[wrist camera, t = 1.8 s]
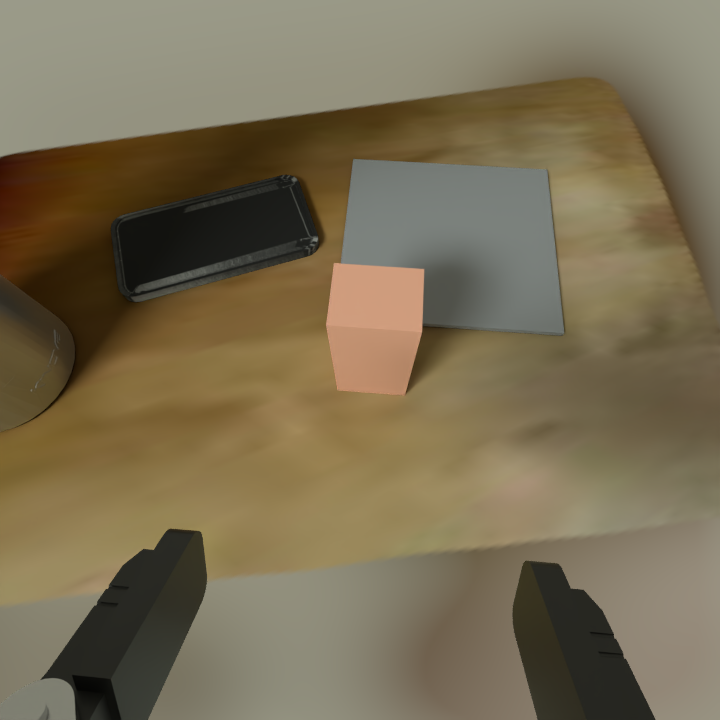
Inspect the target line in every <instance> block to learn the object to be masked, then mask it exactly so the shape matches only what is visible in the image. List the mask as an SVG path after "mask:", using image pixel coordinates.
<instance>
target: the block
mask: <svg viewBox="0 0 720 720" xmlns="http://www.w3.org/2000/svg"><path fill="white" fill-rule="evenodd" d="M423 290H424V269H416V268H401V267H385V266H370V265H354V264H339V263H334V268H333V276H332V284H331V292H330V300H329V308H328V316H327V324H326V327H327V332H328V338H329V344H330V349H331V355H332V361H333V366H334V372H335V378H336V384H337V389H338V390H341V391H354V392H368V393H381V394H394V395H405V393H406V389H407V386H408V382H409V378H410V375H411V371H412V367H413V364H414V360H415V356H416V353H417V349H418V345H419V342H420V338H421V334H422V320H423Z"/></svg>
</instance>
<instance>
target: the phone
mask: <svg viewBox="0 0 720 720" xmlns="http://www.w3.org/2000/svg"><path fill="white" fill-rule="evenodd" d="M111 235H112V243H113V250H114V258H115V266H116V274H117V282H118V288H119V291H120V292H121V293H122V294H123V295H124V296H125V297H126V298H127V299H128V300H129V301H131V302H141V301H145V300H149V299H152V298H156V297H160V296H163V295H167V294H171V293H174V292H178V291H182V290H185V289H189V288H193V287H196V286H200V285H204V284H208V283H211V282H215V281H219V280H222V279H226V278H230V277H233V276H237V275H241V274H244V273H248V272H252V271H255V270H259V269H263V268H266V267H270V266H274V265H277V264H281V263H285V262H289V261H292V260H296V259H300V258H303V257H307V256H310V255H312V254H313V253H315V252H316V250H317V249H318V246H319V241H318V235H317V232H316V229H315V226H314V223H313V220H312V217H311V215H310V212H309V209H308V206H307V203H306V200H305V198H304V195H303V192H302V189H301V186H300V183H299V181H298V180H297V179H296V178H295V177H293V176H291V175H281V176H277V177H273V178H269V179H265V180H261V181H257V182H253V183H249V184H245V185H241V186H237V187H233V188H229V189H225V190H221V191H217V192H213V193H209V194H205V195H201V196H197V197H193V198H189V199H185V200H181V201H177V202H173V203H169V204H165V205H161V206H157V207H153V208H149V209H145V210H141V211H136V212H132V213H128V214H124V215H122V216H119V217H118V218H116V219H115V220H114V221H113V223H112V225H111Z"/></svg>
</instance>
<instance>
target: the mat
mask: <svg viewBox="0 0 720 720" xmlns="http://www.w3.org/2000/svg"><path fill="white" fill-rule="evenodd" d="M341 264H354V265H370V266H385V267H401V268H416V269H424V290H423V320H422V326H430V327H445V328H459V329H473V330H488V331H502V332H516V333H531V334H545V335H559V336H562V335H563V334H564V326H563V316H562V307H561V297H560V288H559V278H558V269H557V259H556V250H555V240H554V231H553V221H552V212H551V202H550V192H549V183H548V173H547V170H545V169H527V168H508V167H490V166H472V165H454V164H435V163H417V162H399V161H381V160H362V159H353V166H352V174H351V183H350V191H349V199H348V208H347V216H346V225H345V233H344V241H343V250H342V258H341Z"/></svg>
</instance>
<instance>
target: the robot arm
mask: <svg viewBox="0 0 720 720" xmlns="http://www.w3.org/2000/svg"><path fill="white" fill-rule="evenodd" d="M74 360H75V345H74V341H73V337H72V334H71V332H70V331H69V329H68V327H67V326H66V325H65V324H64V323H63V322H62V321H61V320H60V319H59V318H58V317H57V316H55V315H54V314H53V313H51V312H50V311H49V310H47V309H46V308H45V307H43V306H42V305H41V304H39V303H38V302H36V301H35V300H34V299H32V298H31V297H30V296H28V295H27V294H26V293H24V292H23V291H22V290H21V289H19V288H18V287H17V286H15V285H14V284H13V283H11V282H10V281H8V280H7V279H6V278H4V277H3V276H2V275H0V432H2V431H5V430H8V429H11V428H15V427H17V426H19V425H21V424H23V423H25V422H27V421H29V420H31V419H32V418H34V417H35V416H37V415H38V414H39V413H41V412H42V411H43V410H45V409H46V408H47V407H48V406H49V405H50V404H51V403H52V402H53V401H54V400H55V399H56V398H57V396H58V395H59V393H60V392H61V391H62V389H63V388H64V386H65V385H66V383H67V381H68V379H69V376H70V374H71V372H72V368H73V364H74ZM206 584H207V572H206V563H205V555H204V546H203V538H202V534H201V532H200V531H192V530H180V529H169V530H167V531H166V532H165V534H164V535H163V537H162V538H161V540H160V541H159V543H158V544H157V546H156V547H155V549H154V550H148V549H143V550H142V551H140V552H139V553H138V554H137V555H135V556H134V557H133V558H132V559H130V560H129V561H128V562H127V563H125V564H124V565H123V566H122V568H121V569H120V570H119V572H118V573H117V575H116V576H115V577H114V579H113V580H112V582H111V583H110V584H109V588H108V589H106V590H105V591H104V593H103V594H102V596H101V597H100V599H99V600H98V602H97V605H96V606H94V607H93V608H92V610H91V611H90V613H89V614H88V616H87V617H86V618H85V620H84V621H83V623H82V624H81V625H80V627H79V628H78V630H77V631H76V632H75V634H74V635H73V636H72V638H71V639H70V641H69V642H68V644H67V645H66V646H65V648H64V650H63V651H62V652H61V653H60V655H59V656H58V658H57V659H56V660H55V662H54V663H53V665H52V666H51V667H50V669H49V670H48V672H47V673H46V674H45V675H44V676H43V678H42V679H41V680H39V681H36V682H33V683H30V684H28V685H26V686H24V687H22V688H21V689H19V690H18V691H16V692H14V693H13V694H12V695H11V696H9V697H8V698H7V699H5V700H4V701H3V702H2V703H1V704H0V720H148V718H149V716H150V714H151V712H152V709H153V707H154V705H155V703H156V701H157V699H158V696H159V694H160V692H161V690H162V687H163V685H164V683H165V681H166V679H167V677H168V675H169V672H170V670H171V668H172V666H173V664H174V662H175V659H176V657H177V655H178V653H179V651H180V649H181V646H182V644H183V642H184V640H185V638H186V635H187V633H188V631H189V629H190V627H191V624H192V622H193V620H194V618H195V616H196V614H197V612H198V609H199V607H200V605H201V603H202V600H203V597H204V593H205V590H206ZM513 627H514V633H515V637H516V641H517V644H518V648H519V652H520V655H521V659H522V663H523V667H524V670H525V674H526V678H527V682H528V685H529V689H530V693H531V696H532V700H533V704H534V708H535V711H536V715H537V719H538V720H655V718H654V716H653V714H652V711H651V709H650V707H649V705H648V703H647V701H646V699H645V697H644V695H643V693H642V691H641V689H640V687H639V685H638V683H637V681H636V679H635V677H634V675H633V672H632V670H631V668H630V666H629V664H628V662H627V660H626V659H624V657H623V652H622V650H621V648H620V646H619V644H618V642H617V640H616V639H614V634H613V632H612V630H611V627H610V626H609V623H608V622H607V619H606V617H605V615H604V613H603V611H602V610H601V609H600V608H599V606H598V605H597V604H596V603H595V602H594V601H593V600H592V599H591V598H590V597H589V595H588V594H587V593H586V592H585V591H584V590H579V589H571V588H570V586H569V584H568V581H567V579H566V577H565V574H564V572H563V570H562V568H561V566H560V565H559V564H557V563H546V562H535V561H525V562H524V563H523V566H522V570H521V574H520V578H519V583H518V587H517V591H516V595H515V599H514V604H513Z"/></svg>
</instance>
